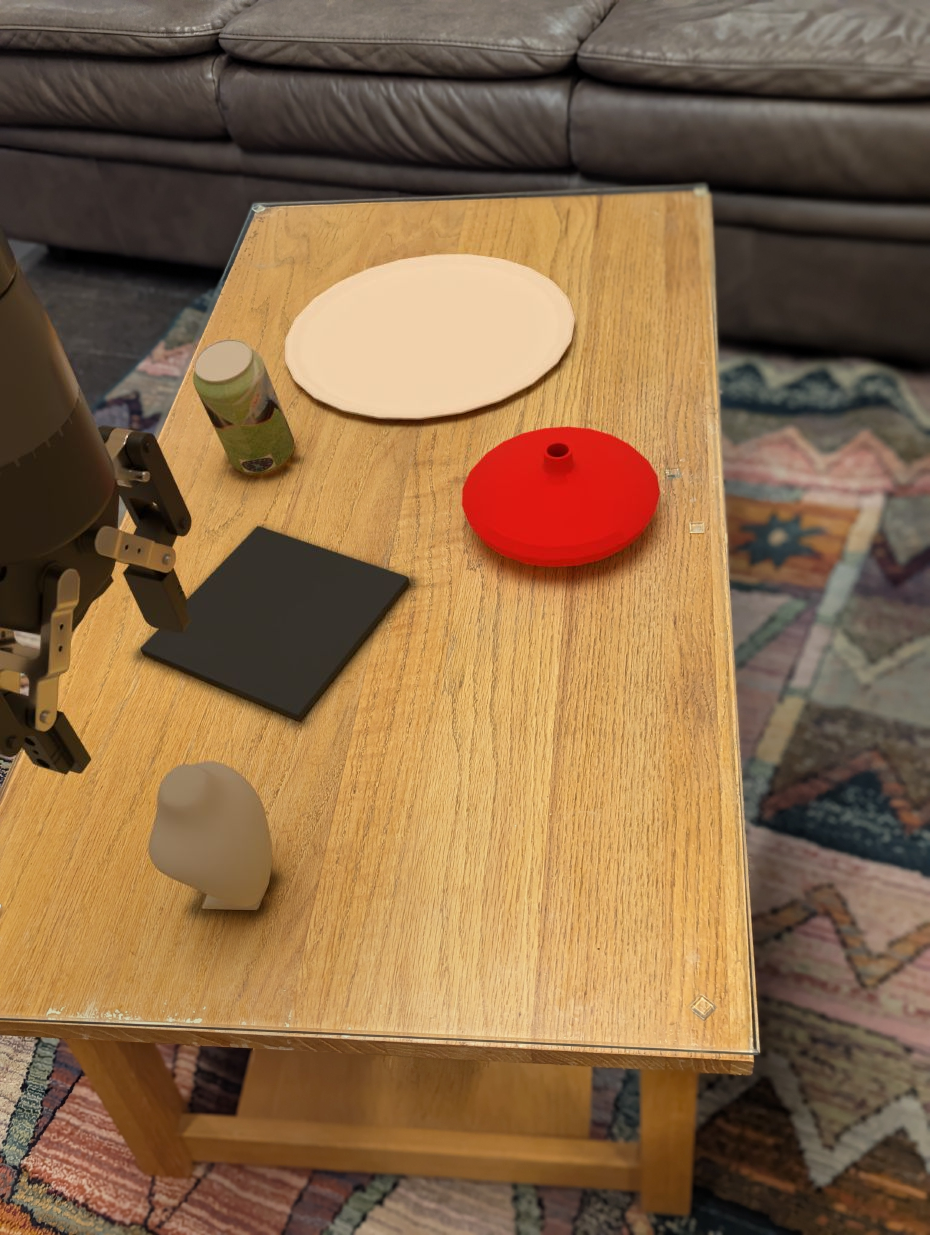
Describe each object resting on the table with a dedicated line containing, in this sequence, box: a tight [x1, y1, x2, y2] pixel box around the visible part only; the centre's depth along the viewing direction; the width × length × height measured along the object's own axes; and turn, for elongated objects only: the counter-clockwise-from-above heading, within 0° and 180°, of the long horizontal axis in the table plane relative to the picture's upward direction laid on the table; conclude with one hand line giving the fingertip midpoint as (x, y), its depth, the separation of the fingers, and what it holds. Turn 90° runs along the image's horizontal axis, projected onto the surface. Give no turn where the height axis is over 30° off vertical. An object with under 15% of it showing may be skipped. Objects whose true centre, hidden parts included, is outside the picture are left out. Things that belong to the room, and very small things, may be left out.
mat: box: [139, 525, 411, 722], centre depth 83 cm, size 15×15×1 cm
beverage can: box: [192, 338, 295, 475], centre depth 93 cm, size 6×7×12 cm
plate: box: [284, 253, 576, 420], centre depth 108 cm, size 29×29×1 cm
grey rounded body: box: [148, 760, 273, 911], centre depth 63 cm, size 8×5×12 cm
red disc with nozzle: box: [461, 426, 661, 568], centre depth 85 cm, size 16×16×7 cm
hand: (122, 691), depth 50 cm, fingers open, 8 cm apart
